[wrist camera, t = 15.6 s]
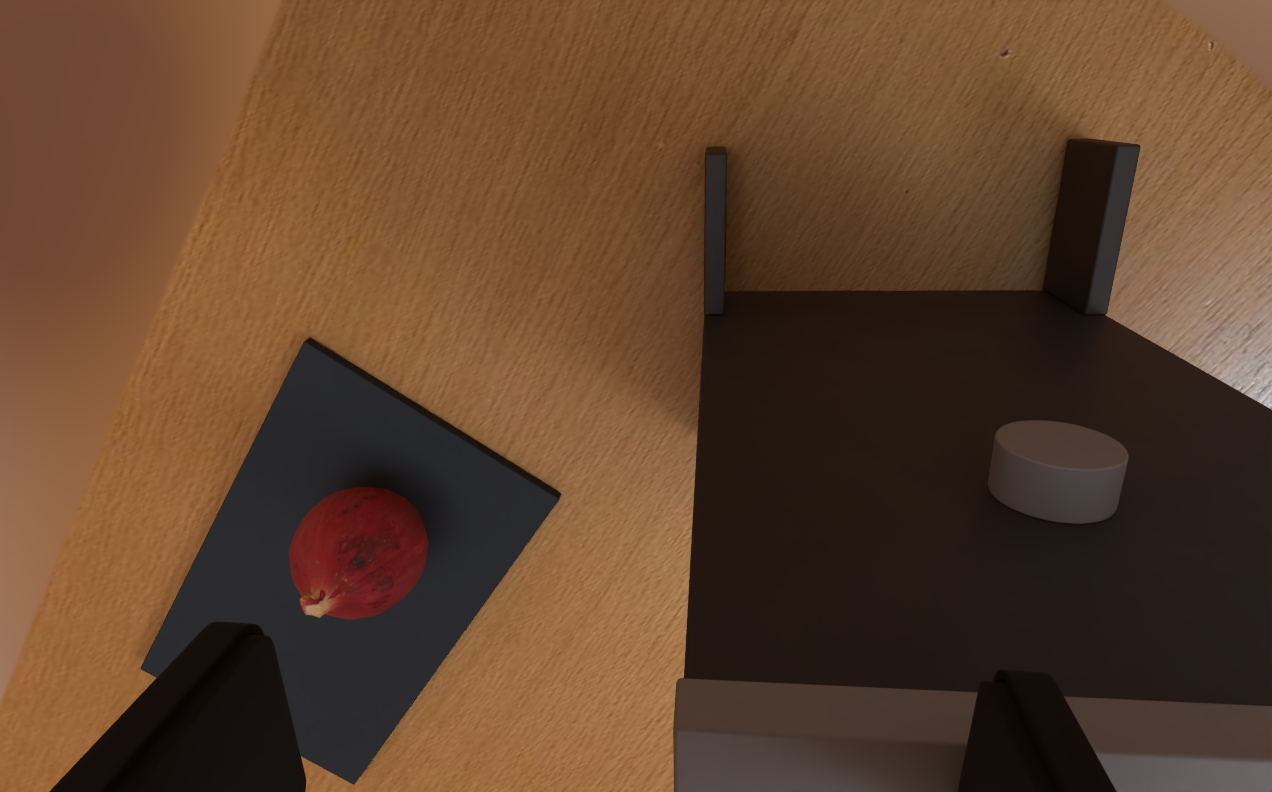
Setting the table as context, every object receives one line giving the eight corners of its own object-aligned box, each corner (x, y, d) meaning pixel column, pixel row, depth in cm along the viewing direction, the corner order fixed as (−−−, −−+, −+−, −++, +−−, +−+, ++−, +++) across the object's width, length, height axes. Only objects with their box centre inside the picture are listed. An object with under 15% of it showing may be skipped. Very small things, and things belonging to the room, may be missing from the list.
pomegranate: (393, 436, 37) (313, 522, 29) (472, 523, 38) (414, 625, 31) (313, 497, 39) (217, 592, 31) (391, 577, 40) (318, 687, 33)
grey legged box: (703, 146, 31) (667, 296, 8) (1092, 138, 30) (2412, 291, 7) (702, 439, 36) (677, 1061, 13) (1036, 445, 35) (1690, 1160, 11)
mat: (309, 337, 36) (303, 341, 36) (561, 493, 38) (558, 499, 37) (146, 661, 45) (139, 669, 44) (358, 777, 46) (353, 785, 46)
